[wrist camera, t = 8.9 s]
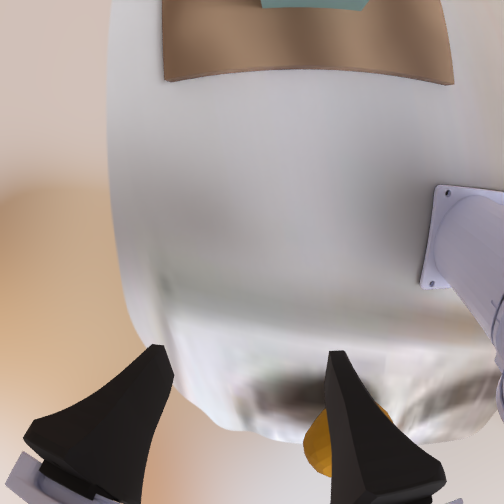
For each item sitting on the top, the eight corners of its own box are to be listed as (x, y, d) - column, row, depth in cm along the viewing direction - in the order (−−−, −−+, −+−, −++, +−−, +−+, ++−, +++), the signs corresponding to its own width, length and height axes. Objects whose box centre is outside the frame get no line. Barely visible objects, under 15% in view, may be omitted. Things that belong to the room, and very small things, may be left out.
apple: (307, 374, 24) (309, 459, 16) (397, 370, 24) (419, 446, 15) (299, 422, 28) (297, 491, 20) (373, 419, 27) (383, 483, 19)
